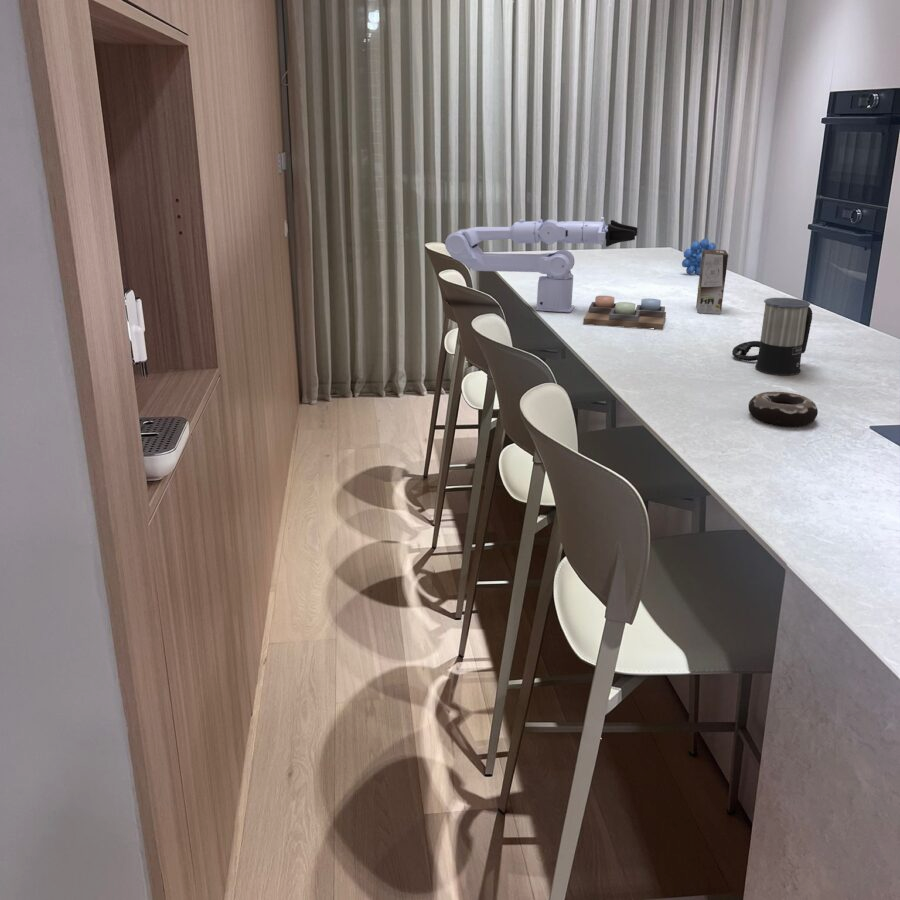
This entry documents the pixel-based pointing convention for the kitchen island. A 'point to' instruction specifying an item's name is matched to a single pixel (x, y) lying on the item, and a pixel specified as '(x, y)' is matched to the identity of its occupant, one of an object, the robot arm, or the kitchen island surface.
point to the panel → (625, 317)
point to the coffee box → (711, 281)
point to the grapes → (696, 255)
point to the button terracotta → (604, 301)
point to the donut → (783, 409)
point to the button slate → (650, 304)
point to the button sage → (625, 308)
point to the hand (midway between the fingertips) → (636, 233)
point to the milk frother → (780, 337)
